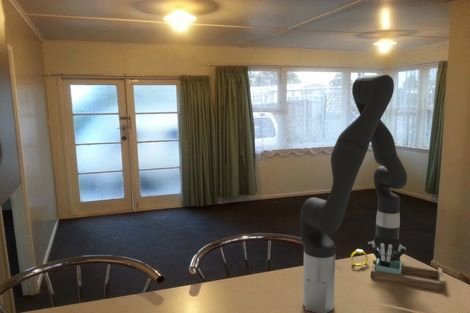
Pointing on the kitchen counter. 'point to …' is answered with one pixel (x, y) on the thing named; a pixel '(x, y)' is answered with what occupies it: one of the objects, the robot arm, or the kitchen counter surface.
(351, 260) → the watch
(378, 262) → the box
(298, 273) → the kitchen counter surface
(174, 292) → the kitchen counter surface
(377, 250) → the open metal box
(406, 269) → the bay
